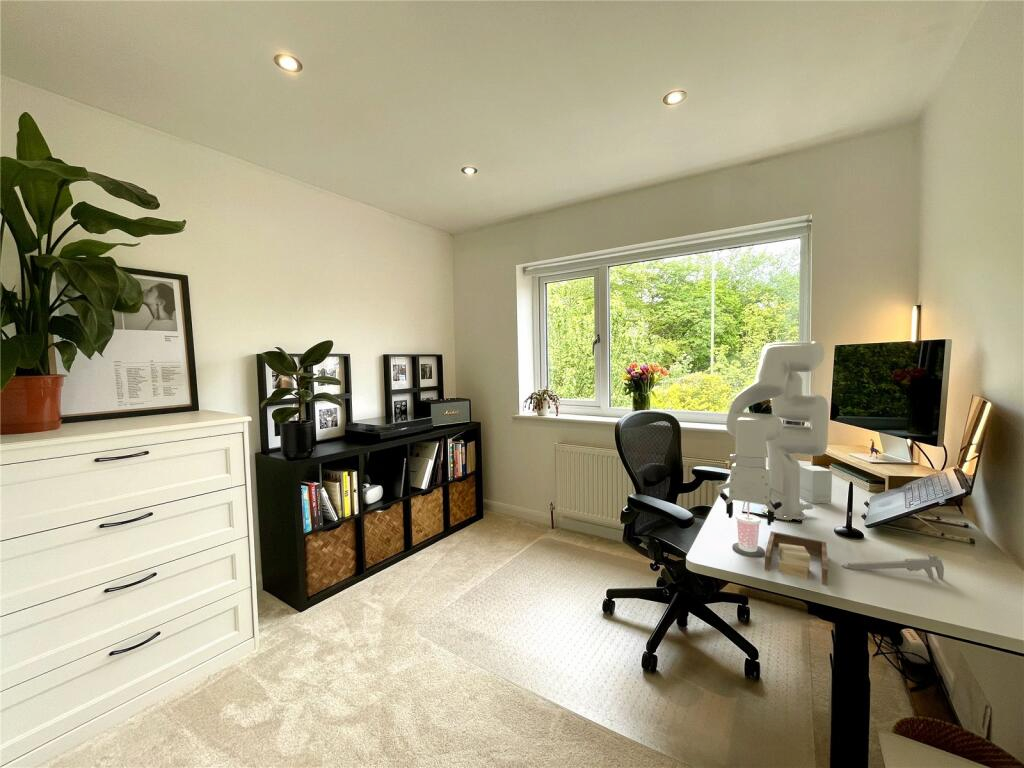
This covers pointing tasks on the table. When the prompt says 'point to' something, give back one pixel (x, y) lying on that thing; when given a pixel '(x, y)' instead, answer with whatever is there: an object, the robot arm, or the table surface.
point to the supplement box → (815, 484)
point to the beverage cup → (748, 531)
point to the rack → (810, 545)
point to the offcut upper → (794, 555)
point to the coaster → (758, 553)
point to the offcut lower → (794, 570)
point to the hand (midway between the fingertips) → (749, 520)
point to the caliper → (904, 565)
